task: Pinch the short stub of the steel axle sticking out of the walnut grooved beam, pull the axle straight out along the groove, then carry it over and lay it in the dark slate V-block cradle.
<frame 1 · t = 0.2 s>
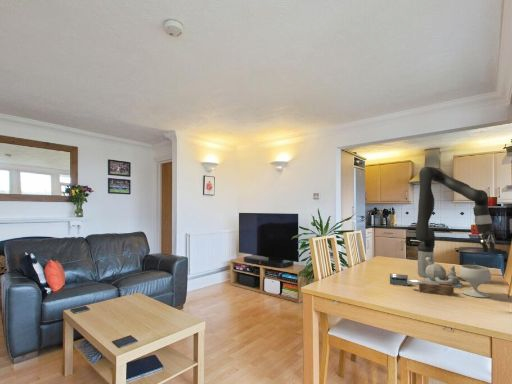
hand: (489, 251, 159), 22 cm above the table, tool pointing down, fingers open, 8 cm apart
V-block: (398, 283, 174), on the table
chalice: (475, 294, 151), on the table
grey piece: (442, 284, 172), on the table
grooved beam: (435, 292, 156), on the table
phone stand: (472, 281, 176), on the table
axle: (423, 283, 159), point 4 cm above the table, touching grooved beam
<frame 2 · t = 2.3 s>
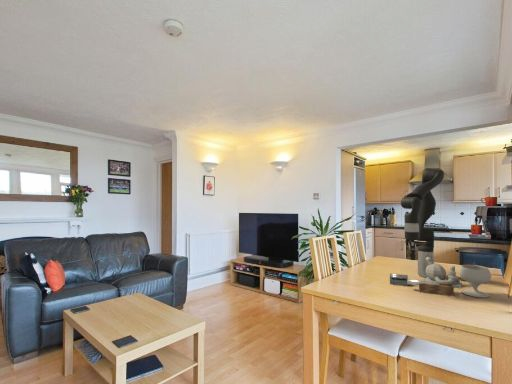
hand: (412, 258, 161), 18 cm above the table, tool pointing down, fingers open, 8 cm apart
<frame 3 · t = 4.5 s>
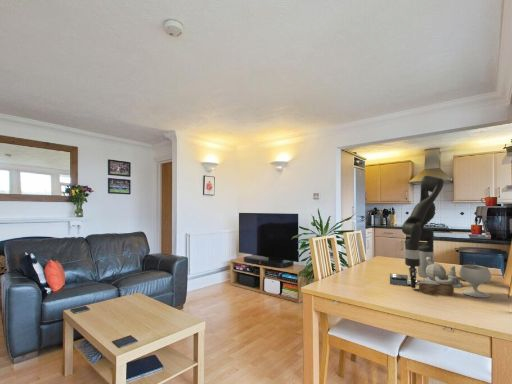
hand: (413, 286, 161), 2 cm above the table, tool pointing down, fingers closed on axle, 2 cm apart
axle: (423, 283, 159), point 4 cm above the table, touching gripper, grooved beam
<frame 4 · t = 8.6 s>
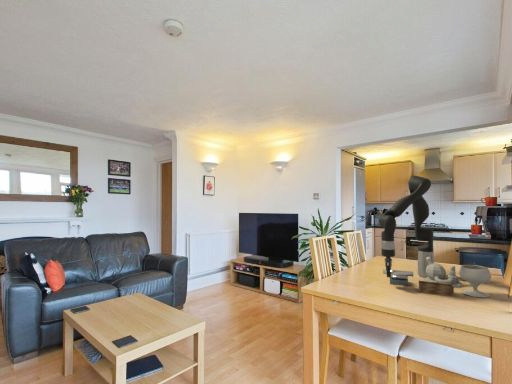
hand: (388, 276, 167), 6 cm above the table, tool pointing down, fingers closed on axle, 2 cm apart
axle: (397, 272, 165), point 9 cm above the table, touching gripper
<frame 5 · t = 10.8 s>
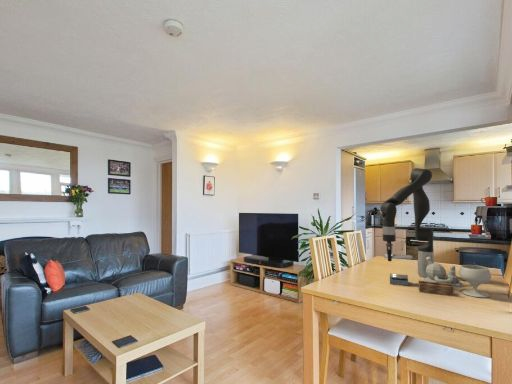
hand: (389, 260, 177), 14 cm above the table, tool pointing down, fingers closed on axle, 2 cm apart
axle: (398, 256, 174), point 17 cm above the table, touching gripper
when the fingers open (6 cm above the table, at t = 12.8 s): axle drops 3 cm, resting on V-block.
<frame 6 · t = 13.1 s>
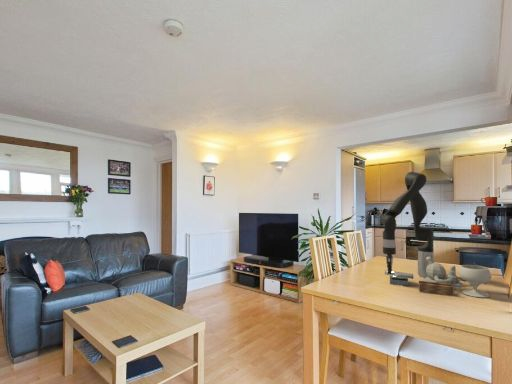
hand: (389, 272, 176), 6 cm above the table, tool pointing down, fingers open, 5 cm apart
axle: (398, 274, 174), point 6 cm above the table, touching V-block
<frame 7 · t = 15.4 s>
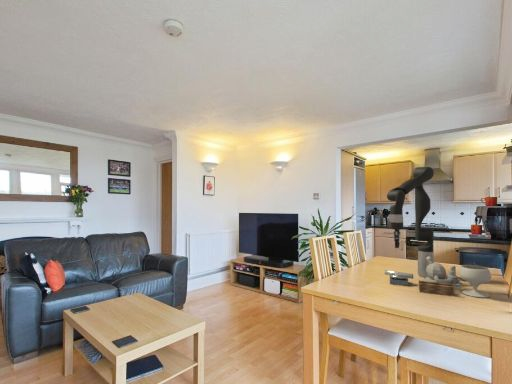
hand: (397, 246, 176), 23 cm above the table, tool pointing down, fingers open, 8 cm apart
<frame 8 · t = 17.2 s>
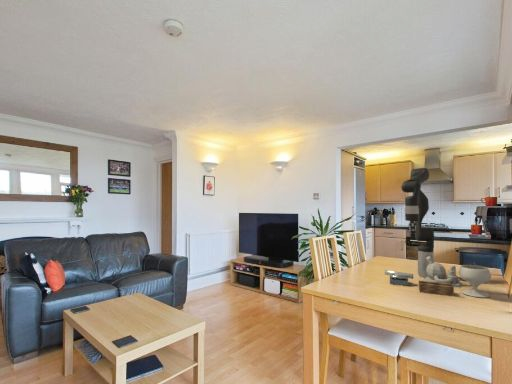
hand: (412, 239, 172), 28 cm above the table, tool pointing down, fingers open, 8 cm apart
at the end: axle 0.0 cm off-centre on the V-block, point 5.5 cm above the V-block's base; axle touching V-block; the gripper is holding nothing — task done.
